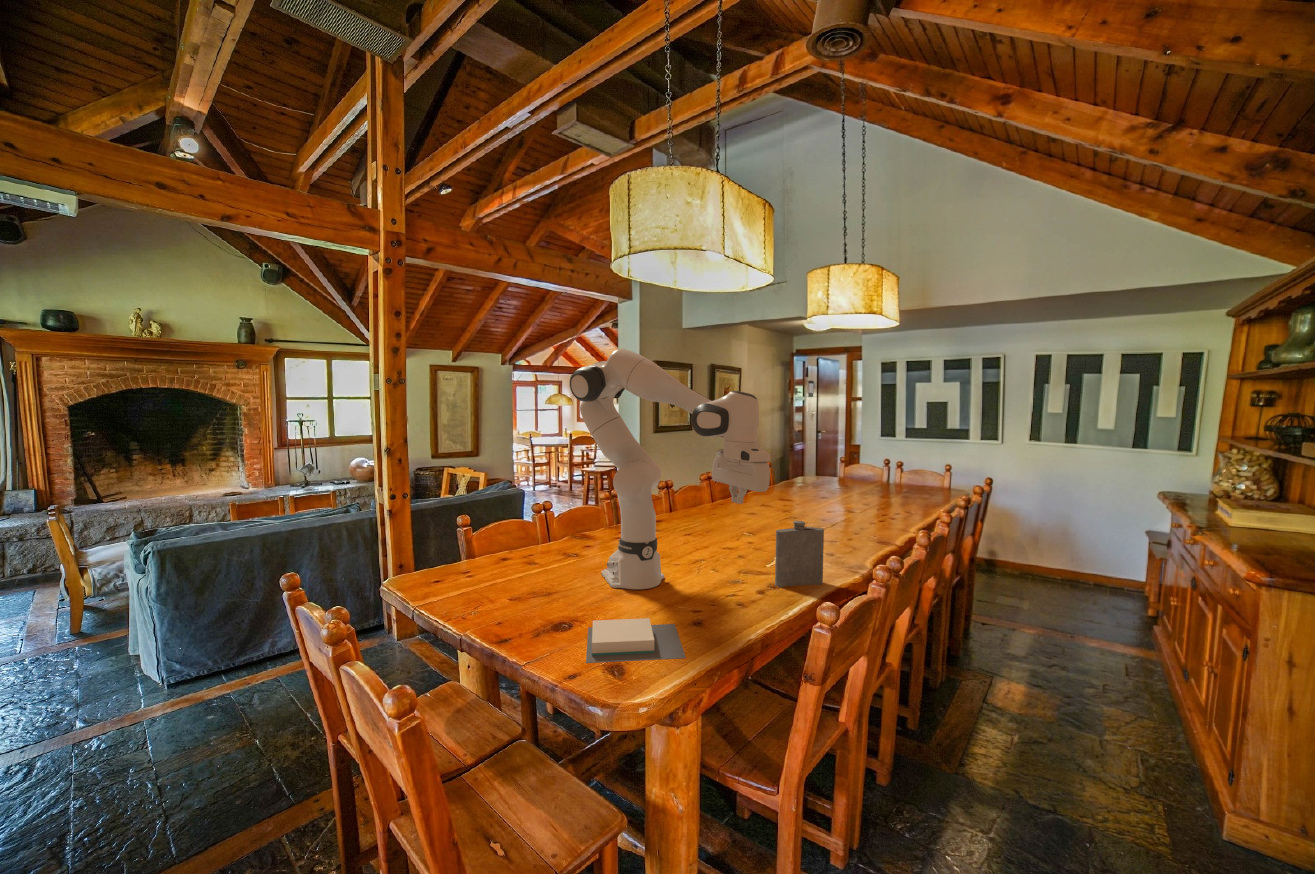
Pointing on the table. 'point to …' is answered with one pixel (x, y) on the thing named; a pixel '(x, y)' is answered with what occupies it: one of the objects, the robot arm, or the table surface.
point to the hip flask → (799, 556)
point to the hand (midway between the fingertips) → (737, 502)
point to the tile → (622, 637)
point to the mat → (664, 648)
